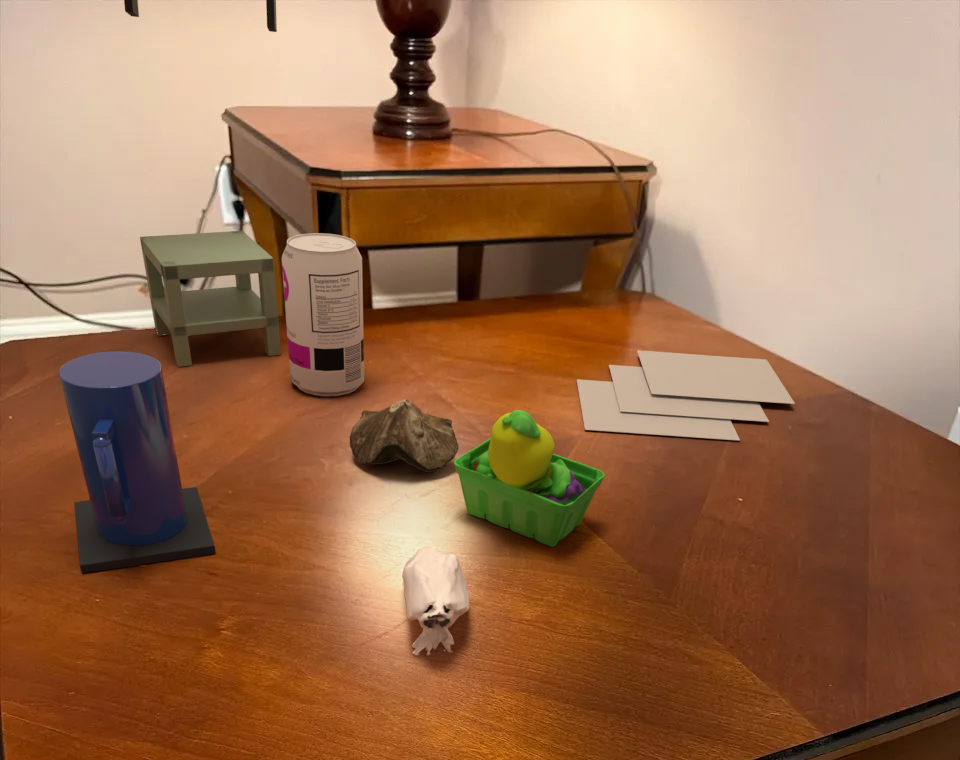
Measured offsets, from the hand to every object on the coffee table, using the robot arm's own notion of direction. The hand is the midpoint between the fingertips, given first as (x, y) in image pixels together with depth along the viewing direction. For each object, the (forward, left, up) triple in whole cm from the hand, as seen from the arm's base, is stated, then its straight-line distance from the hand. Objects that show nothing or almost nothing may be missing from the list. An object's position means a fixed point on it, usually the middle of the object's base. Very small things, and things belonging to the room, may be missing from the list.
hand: (202, 22), depth 87 cm
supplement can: (+18, -3, -32) cm, 37 cm away
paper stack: (+50, +23, -32) cm, 63 cm away
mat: (+28, -36, -32) cm, 56 cm away
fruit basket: (+51, -14, -32) cm, 62 cm away
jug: (+29, -37, -31) cm, 56 cm away
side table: (0, -3, -32) cm, 32 cm away
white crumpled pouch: (+53, -30, -32) cm, 69 cm away
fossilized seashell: (+36, -12, -32) cm, 50 cm away
